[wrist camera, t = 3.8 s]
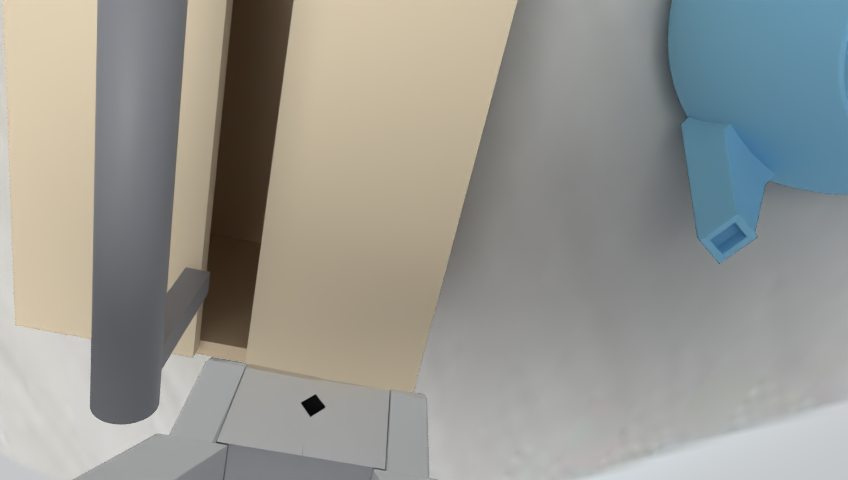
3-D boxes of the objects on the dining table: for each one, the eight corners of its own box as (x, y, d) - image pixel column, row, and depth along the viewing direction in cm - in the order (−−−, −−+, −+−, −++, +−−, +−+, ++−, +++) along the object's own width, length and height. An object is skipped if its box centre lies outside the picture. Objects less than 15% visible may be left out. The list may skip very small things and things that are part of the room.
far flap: (281, -207, 17) (190, -299, 10) (218, 350, 24) (140, 506, 17) (9, -278, 16) (-272, -424, 10) (26, 314, 23) (-131, 463, 17)
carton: (515, -124, 26) (563, -157, 17) (415, 279, 33) (412, 406, 24) (147, -219, 24) (-13, -308, 15) (128, 222, 32) (12, 334, 23)
